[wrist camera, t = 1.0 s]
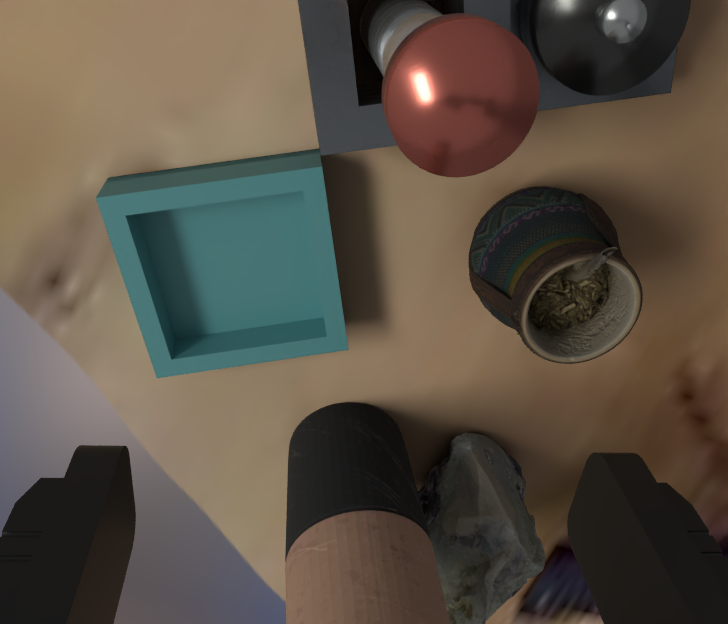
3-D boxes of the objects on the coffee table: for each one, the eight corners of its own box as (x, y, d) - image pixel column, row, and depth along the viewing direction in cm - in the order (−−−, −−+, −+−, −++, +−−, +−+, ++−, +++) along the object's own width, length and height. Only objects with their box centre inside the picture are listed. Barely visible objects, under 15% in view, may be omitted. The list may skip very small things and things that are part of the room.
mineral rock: (371, 575, 49) (390, 717, 40) (307, 481, 43) (314, 623, 35) (539, 513, 47) (596, 648, 39) (496, 408, 42) (550, 538, 33)
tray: (319, 148, 32) (322, 166, 30) (344, 323, 37) (348, 349, 35) (108, 177, 32) (95, 198, 30) (164, 350, 37) (156, 377, 35)
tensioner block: (673, -117, 28) (751, -119, 23) (650, 82, 32) (711, 113, 27) (288, -68, 27) (289, -61, 23) (316, 127, 31) (322, 167, 27)
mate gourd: (470, 311, 38) (524, 428, 29) (442, 188, 34) (495, 283, 25) (596, 275, 37) (688, 383, 29) (582, 146, 33) (684, 227, 25)
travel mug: (385, 381, 40) (463, 741, 23) (421, 467, 44) (510, 829, 27) (264, 422, 40) (254, 802, 23) (310, 504, 44) (330, 878, 27)
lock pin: (438, -35, 28) (542, 9, 17) (443, 68, 31) (537, 166, 20) (340, -22, 28) (380, 31, 17) (351, 80, 31) (393, 186, 19)
